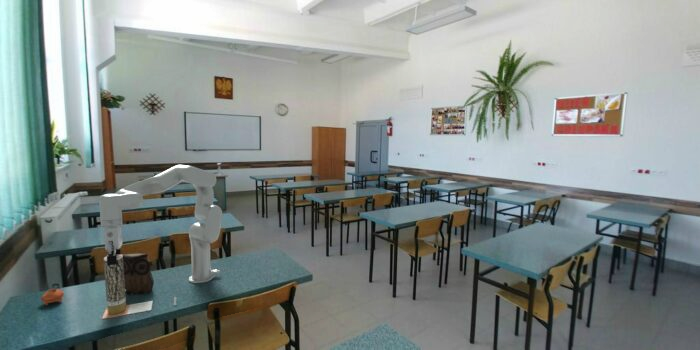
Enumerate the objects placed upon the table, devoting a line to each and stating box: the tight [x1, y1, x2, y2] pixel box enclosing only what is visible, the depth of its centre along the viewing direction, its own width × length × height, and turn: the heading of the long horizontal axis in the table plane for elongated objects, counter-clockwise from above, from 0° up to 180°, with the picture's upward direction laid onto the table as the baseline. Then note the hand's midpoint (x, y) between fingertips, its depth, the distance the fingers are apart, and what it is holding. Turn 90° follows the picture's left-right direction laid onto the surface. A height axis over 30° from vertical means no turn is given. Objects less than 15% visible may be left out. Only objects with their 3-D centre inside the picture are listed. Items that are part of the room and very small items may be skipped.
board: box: [101, 296, 177, 320], centre depth 150 cm, size 28×9×1 cm, turn 117°
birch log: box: [103, 253, 127, 314], centre depth 145 cm, size 7×7×25 cm
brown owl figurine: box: [121, 253, 155, 296], centre depth 164 cm, size 13×13×20 cm
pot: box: [40, 288, 65, 306], centre depth 152 cm, size 8×8×7 cm
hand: (114, 260), depth 144 cm, fingers open, 9 cm apart
